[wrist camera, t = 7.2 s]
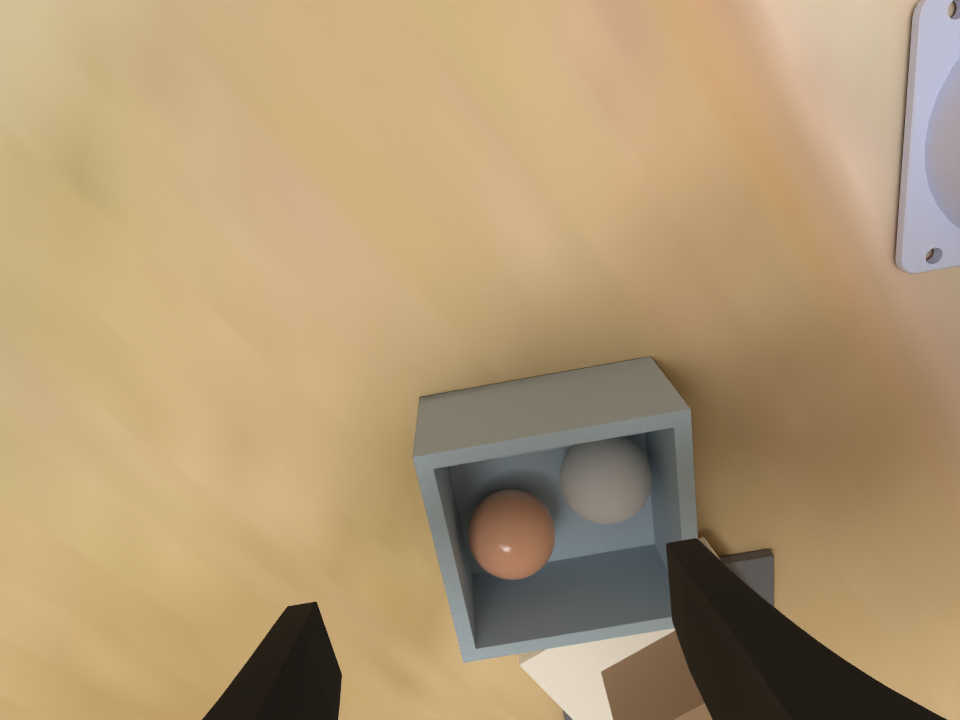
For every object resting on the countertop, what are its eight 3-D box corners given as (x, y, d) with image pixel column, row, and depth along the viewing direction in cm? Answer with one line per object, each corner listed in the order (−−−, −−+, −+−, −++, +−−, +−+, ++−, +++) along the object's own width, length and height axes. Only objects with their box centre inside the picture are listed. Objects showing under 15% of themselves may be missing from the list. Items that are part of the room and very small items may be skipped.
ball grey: (634, 409, 22) (660, 454, 19) (641, 483, 23) (666, 535, 21) (548, 424, 22) (561, 471, 20) (559, 496, 23) (573, 550, 21)
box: (650, 356, 22) (690, 408, 18) (665, 545, 25) (702, 623, 21) (419, 397, 22) (412, 457, 18) (462, 579, 25) (463, 662, 21)
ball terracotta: (543, 466, 23) (555, 516, 20) (554, 534, 24) (567, 591, 21) (460, 480, 23) (461, 532, 20) (474, 548, 24) (477, 606, 21)
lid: (703, 536, 24) (750, 619, 20) (801, 669, 27) (859, 764, 23) (517, 644, 26) (528, 740, 22) (627, 759, 29) (655, 863, 25)
